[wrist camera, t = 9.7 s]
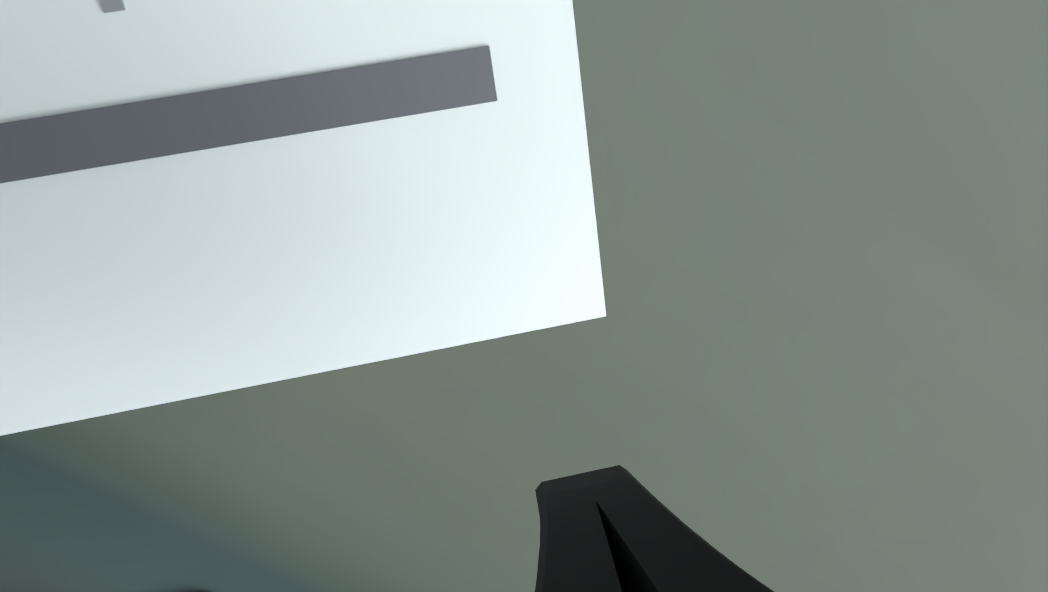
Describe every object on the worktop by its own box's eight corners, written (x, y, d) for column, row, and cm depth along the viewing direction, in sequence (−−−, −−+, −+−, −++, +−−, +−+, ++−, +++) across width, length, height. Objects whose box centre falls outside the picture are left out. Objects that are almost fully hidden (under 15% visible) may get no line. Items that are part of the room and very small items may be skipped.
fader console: (588, 289, 21) (607, 317, 20) (-280, 456, 19) (-355, 507, 17) (525, -251, 17) (542, -286, 15) (-650, -110, 14) (-814, -128, 12)
